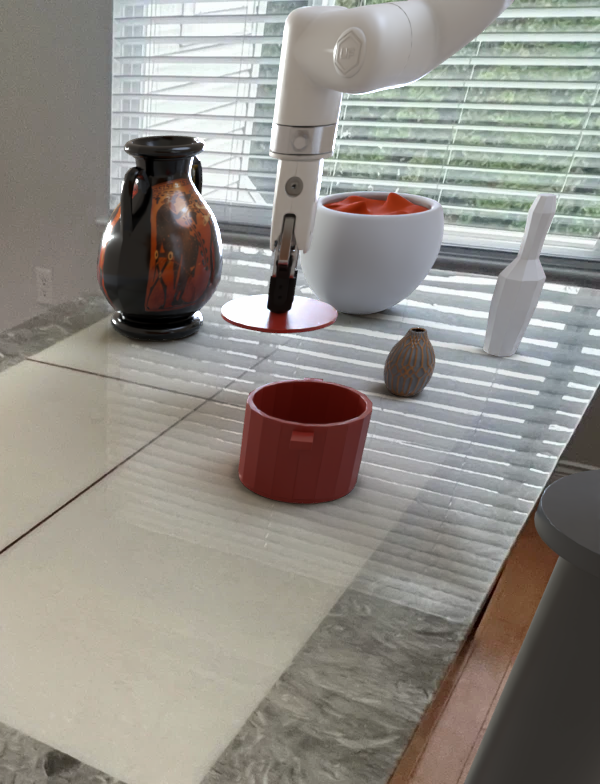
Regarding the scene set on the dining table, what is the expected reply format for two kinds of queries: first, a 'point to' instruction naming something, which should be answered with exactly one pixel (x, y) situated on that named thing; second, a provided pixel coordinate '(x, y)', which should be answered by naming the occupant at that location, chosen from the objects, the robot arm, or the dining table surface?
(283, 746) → the dining table surface
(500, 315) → the low poly bottle
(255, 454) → the enamel pot
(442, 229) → the pot
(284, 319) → the lid
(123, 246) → the amphora vase
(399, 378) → the vase
